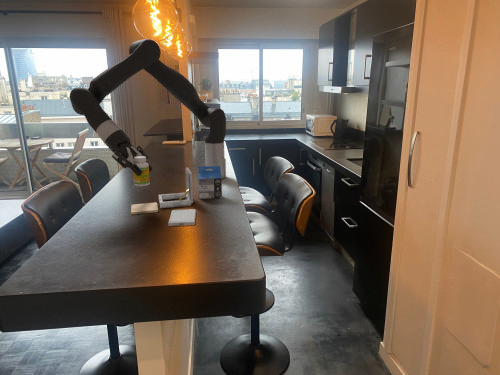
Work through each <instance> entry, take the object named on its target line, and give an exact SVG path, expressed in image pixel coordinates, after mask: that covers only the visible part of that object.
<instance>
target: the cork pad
mask: <svg viewBox="0 0 500 375" xmlns="http://www.w3.org/2000/svg"><path fill="white" fill-rule="evenodd" d="M130 206H131V207H130V208H131V209H130V215H142V214H151V213H152V214H153V213H158V212H159V207H158V203H157V201H156V202H147V203H137V204H136V203H135V204H133V203H132V204H130Z"/></svg>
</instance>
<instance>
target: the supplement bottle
mask: <svg viewBox="0 0 500 375" xmlns="http://www.w3.org/2000/svg"><path fill="white" fill-rule="evenodd" d="M133 161H134V163H135V164H136V165H137V166H138V167H139V168H140V169H141V171H142V174H141V175H140V176H137V175H136V174H135V173H134V172H133V171H132V175H133V176H132V177H133V185H134V186H135V187H146V186H149V185H150V184H151V181H150V172H149V165H150V163H149V162H148V163H149V164H148V163H146V161H147V160H146V157H145V156H138V155H137V156H136V157H134V160H133Z"/></svg>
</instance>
